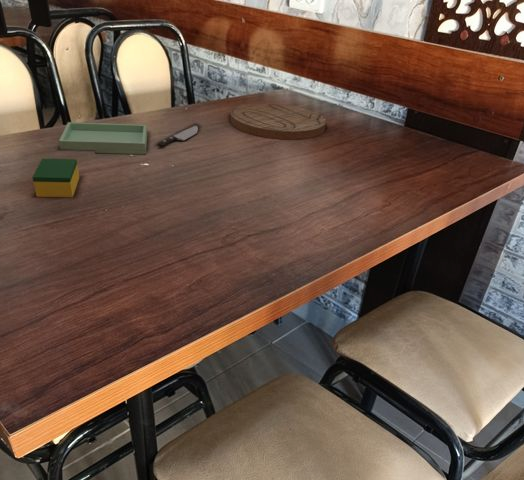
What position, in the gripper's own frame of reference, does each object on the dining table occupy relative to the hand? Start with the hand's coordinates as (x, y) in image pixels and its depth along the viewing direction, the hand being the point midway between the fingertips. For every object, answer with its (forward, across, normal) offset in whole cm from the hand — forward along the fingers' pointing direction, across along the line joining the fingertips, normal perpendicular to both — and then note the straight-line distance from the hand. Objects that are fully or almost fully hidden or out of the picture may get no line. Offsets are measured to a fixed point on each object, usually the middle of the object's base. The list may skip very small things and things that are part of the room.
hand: (21, 29), depth 74 cm
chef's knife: (+25, -40, +6) cm, 47 cm away
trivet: (+26, -64, +22) cm, 72 cm away
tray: (+25, -28, -7) cm, 38 cm away
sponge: (+25, -2, 0) cm, 25 cm away
